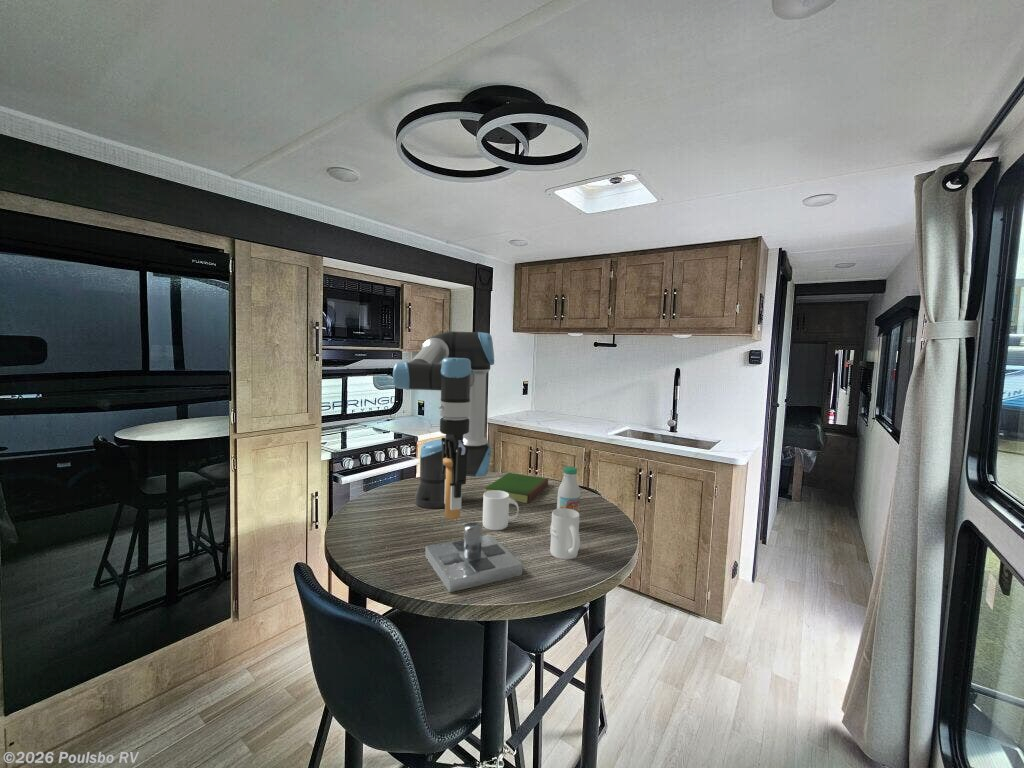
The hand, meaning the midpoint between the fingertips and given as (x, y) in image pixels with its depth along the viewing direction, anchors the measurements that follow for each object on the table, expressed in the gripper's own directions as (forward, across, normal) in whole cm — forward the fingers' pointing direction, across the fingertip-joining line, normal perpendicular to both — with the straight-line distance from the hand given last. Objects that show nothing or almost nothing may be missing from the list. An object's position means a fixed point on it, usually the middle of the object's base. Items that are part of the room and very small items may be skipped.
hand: (452, 505), depth 114 cm
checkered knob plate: (+17, 0, +6) cm, 18 cm away
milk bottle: (+18, -12, +46) cm, 51 cm away
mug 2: (+18, +6, +33) cm, 38 cm away
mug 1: (+18, -21, +25) cm, 37 cm away
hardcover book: (+18, -51, +48) cm, 72 cm away
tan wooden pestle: (+3, 0, 0) cm, 3 cm away
